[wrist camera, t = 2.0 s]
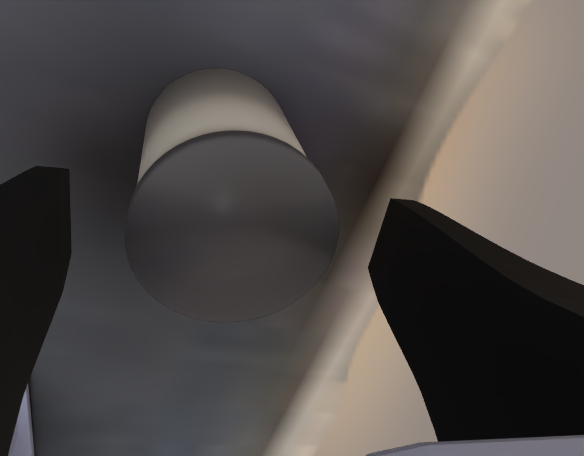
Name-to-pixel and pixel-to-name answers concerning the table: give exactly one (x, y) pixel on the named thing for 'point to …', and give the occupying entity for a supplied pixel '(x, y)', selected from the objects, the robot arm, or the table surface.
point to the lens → (226, 203)
